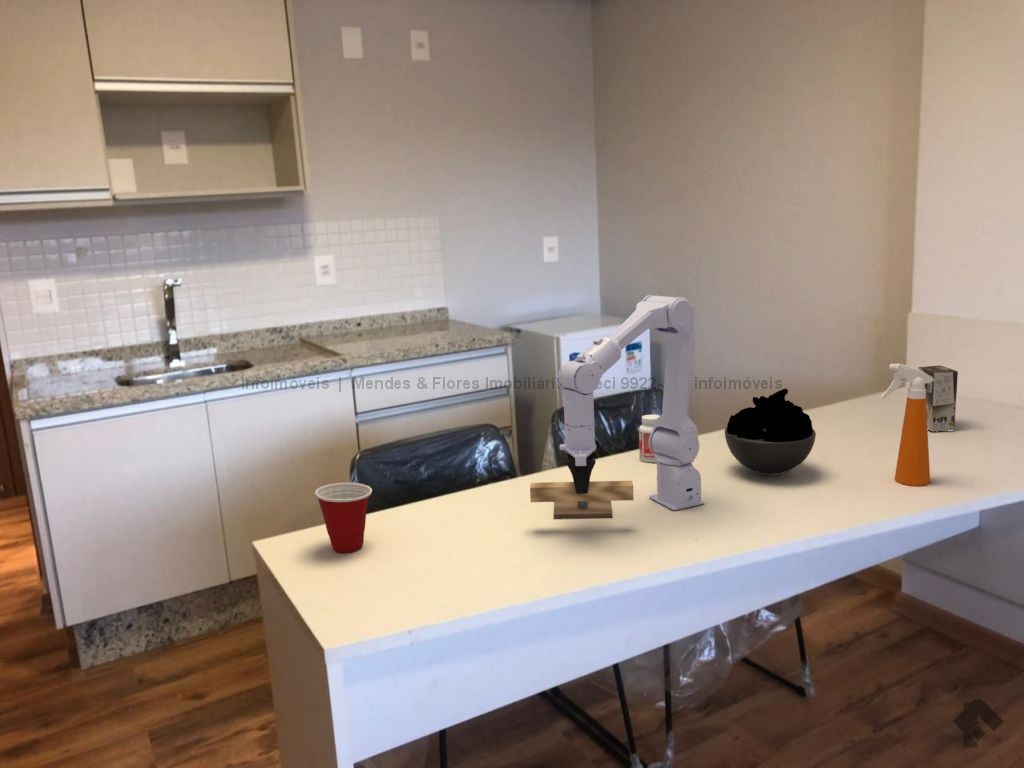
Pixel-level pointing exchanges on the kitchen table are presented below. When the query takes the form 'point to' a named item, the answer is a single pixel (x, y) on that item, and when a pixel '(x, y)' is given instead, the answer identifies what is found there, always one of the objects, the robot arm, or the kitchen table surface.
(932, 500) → the kitchen table surface
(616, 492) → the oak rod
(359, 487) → the plastic cup
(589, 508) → the ridge stand
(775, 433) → the bowl of black rocks
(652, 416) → the pill bottle
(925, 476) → the spray bottle
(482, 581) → the kitchen table surface
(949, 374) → the coffee box
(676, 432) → the robot arm
